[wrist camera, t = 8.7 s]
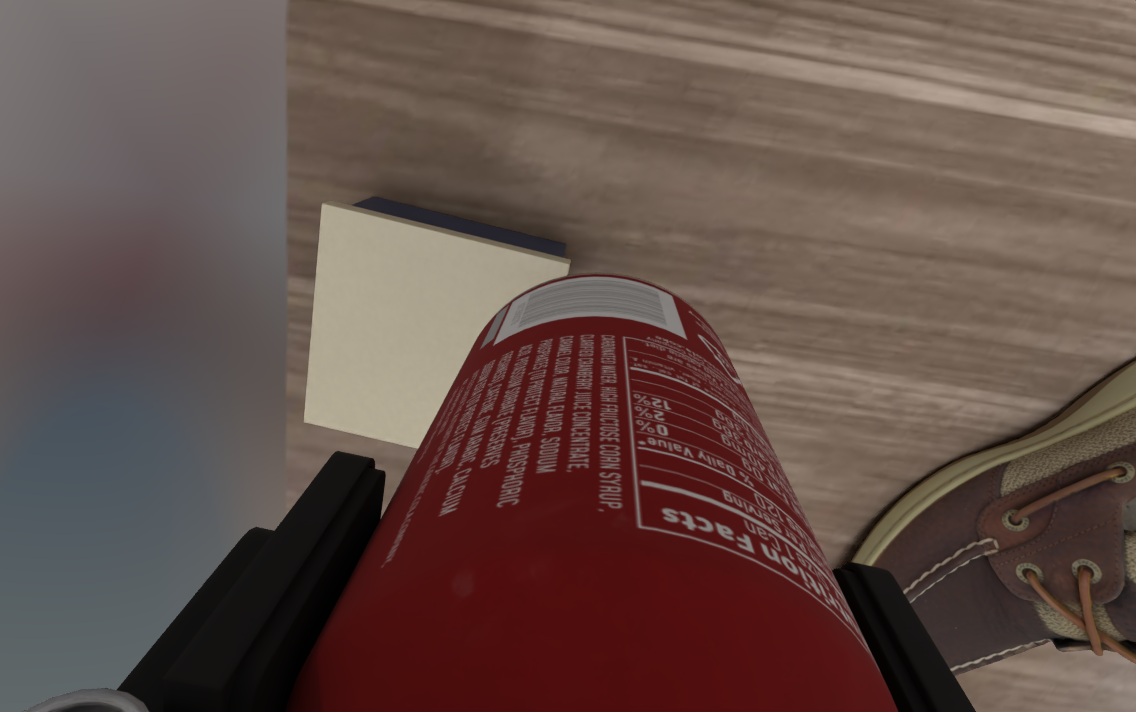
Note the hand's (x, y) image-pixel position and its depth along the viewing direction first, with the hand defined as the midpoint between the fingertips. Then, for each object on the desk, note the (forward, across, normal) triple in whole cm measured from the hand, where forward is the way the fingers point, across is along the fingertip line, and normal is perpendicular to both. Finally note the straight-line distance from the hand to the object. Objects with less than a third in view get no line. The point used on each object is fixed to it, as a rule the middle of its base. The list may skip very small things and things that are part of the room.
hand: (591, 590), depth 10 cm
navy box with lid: (+28, +7, +6) cm, 29 cm away
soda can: (+7, 0, 0) cm, 7 cm away
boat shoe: (+28, -31, +10) cm, 43 cm away
